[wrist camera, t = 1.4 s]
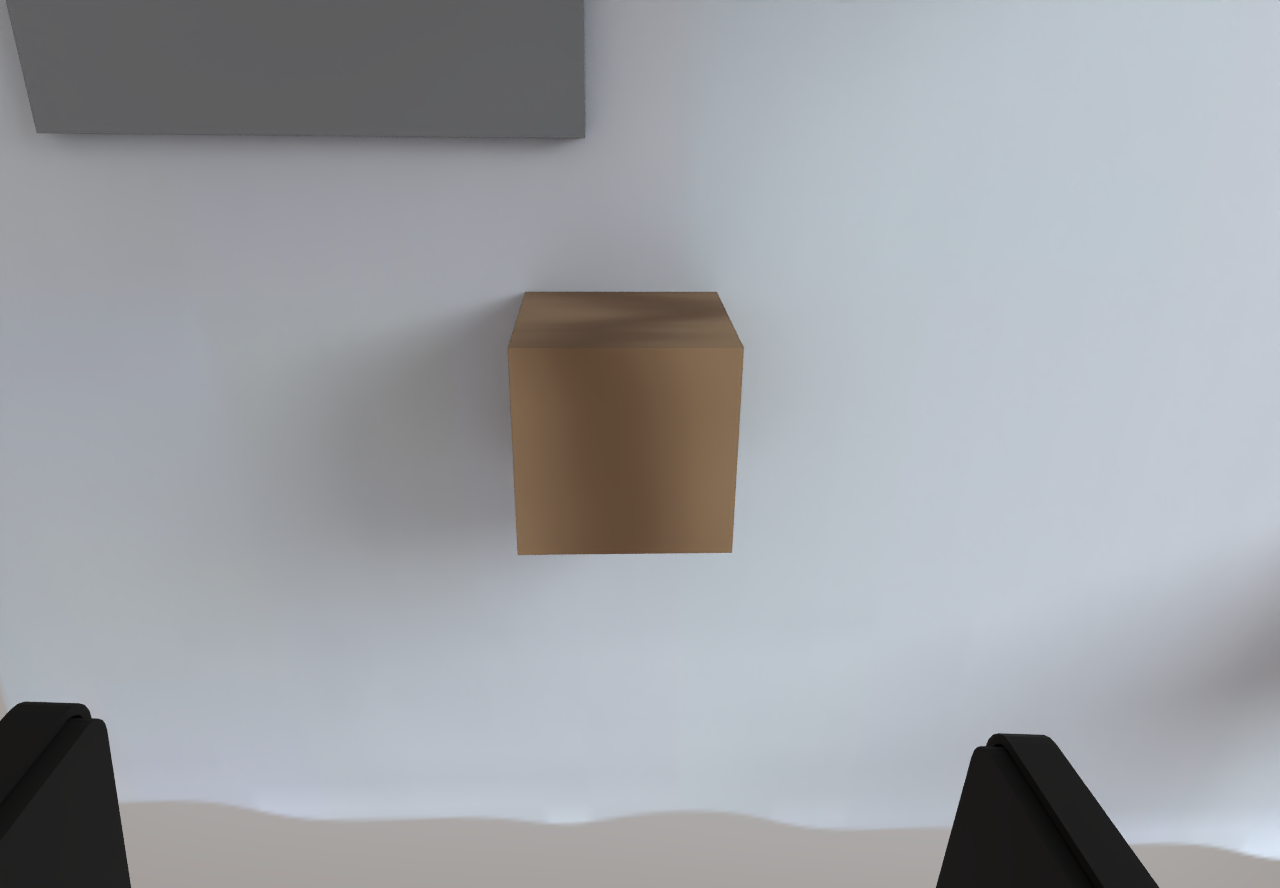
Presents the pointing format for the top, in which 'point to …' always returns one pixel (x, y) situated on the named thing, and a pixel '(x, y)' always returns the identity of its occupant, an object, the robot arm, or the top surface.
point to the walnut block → (624, 422)
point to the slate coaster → (304, 67)
